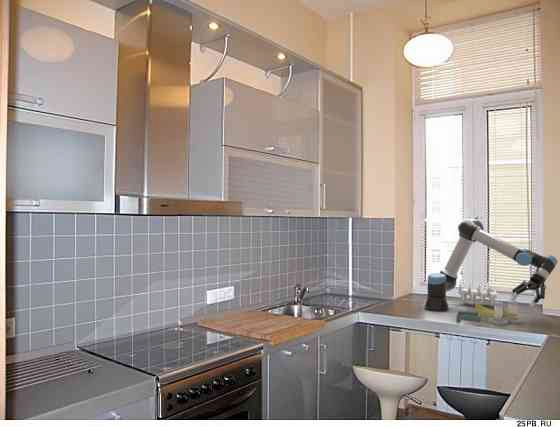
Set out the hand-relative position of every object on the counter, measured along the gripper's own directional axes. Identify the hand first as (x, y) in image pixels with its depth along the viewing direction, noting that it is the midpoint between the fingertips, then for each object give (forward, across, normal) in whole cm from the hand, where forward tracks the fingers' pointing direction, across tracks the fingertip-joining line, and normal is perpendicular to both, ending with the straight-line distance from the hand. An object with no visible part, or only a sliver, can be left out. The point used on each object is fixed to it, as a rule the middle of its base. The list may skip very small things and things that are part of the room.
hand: (520, 304), depth 264 cm
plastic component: (+9, +21, -8) cm, 24 cm away
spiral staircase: (-6, +52, -22) cm, 57 cm away
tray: (+24, +18, +8) cm, 31 cm away
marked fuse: (+11, +1, -4) cm, 11 cm away
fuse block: (+16, +1, -1) cm, 16 cm away
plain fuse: (+18, +1, +4) cm, 19 cm away
